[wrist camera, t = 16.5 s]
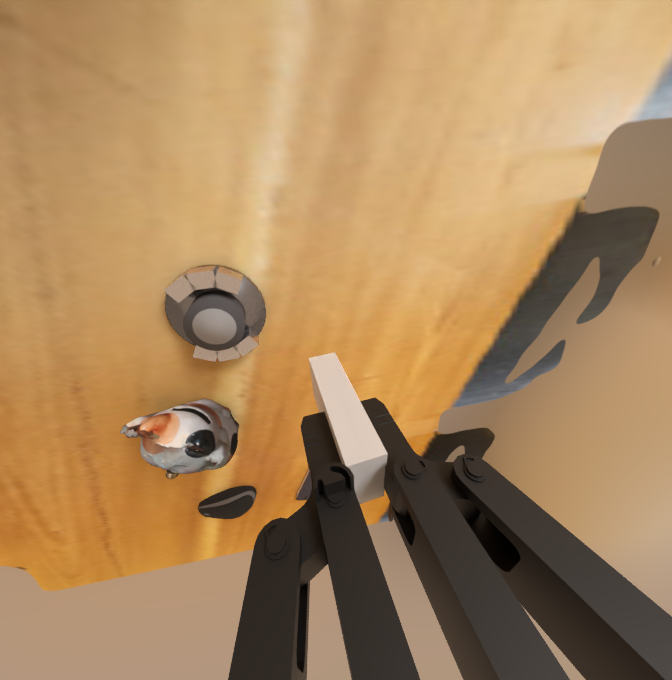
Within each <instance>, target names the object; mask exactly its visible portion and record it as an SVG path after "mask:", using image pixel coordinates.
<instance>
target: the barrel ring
mask: <svg viewBox="0 0 672 680" xmlns="http://www.w3.org/2000/svg"><path fill="white" fill-rule="evenodd" d="M211 290H220V291H224V292H227V293H230V294H232V295H233V296H235V297H236V298H237V299H238V300H239V301H240V302H241V303H242V305H243V307H244V309H245V313H246V320H245V331H244V335H243V337H242V339H241V340H240V342H239V343H238V344H236V345H235V346H233V347H232V348H229V349H226V350H221V351H212V350H207V349H203V348H201V347H199V346H197V345H196V344H194V343H193V342H192V341H191V340H190V339H189V338H188V337H187V335H186V333H185V331H184V328H183V319H184V316H185V314H186V312H187V311H188V309H189V307H190V306H191V304H192V302H193V301H194V299H195V298H196V297H197V296H198V295H200V294H202V293H204V292H207V291H211ZM163 291H164V292H166V293H167V295H166V300H165V310H166V315H167V317H168V320H169V322H170V324H171V326H172V327H173V329H174V330H175V331H176V332H177V333H178V334H179V335H180V336H181V337H182V338H183V339H184V340H186V341H187V342H189V343H191V344H193V345H195V346H196V347H195V351H194V354H193V357H194V358H199V359H204V360H209V361H213V362H216V359H217V358H218V360H219V362H221V361H227V360H232V359H237V358H240V356H241V355H242V356H245V355H246V354H247V353H249V352H250V351H251V350H253V349H254V348H255V347H257V346H258V345H259V336H258V335H259V333H260V332H261V330H262V328H263V326H264V323H265V318H266V309H265V302H264V299H263V296H262V294H261V292H260V291H259V289H258V287H257V286H256V285H255V284H254V283H253V282H252V281H251V280H250V279H249V278H248V277H246V276H245V275H244V274H242V273H240V272H239V271H236V270H234V269H232V268H228V267H225V266H220V265H203V266H198V267H195V268H191V269H190V270H187V271H185V272H184V273H183V274H181V275H180V276H179V277H178V278H177V279H175V280H174V281H173V282H172V283H171V284H169V285H168V286H167V287H166V288H165V289H164V290H163Z"/></svg>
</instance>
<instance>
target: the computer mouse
mask: <svg viewBox="0 0 672 680" xmlns="http://www.w3.org/2000/svg"><path fill="white" fill-rule="evenodd" d="M255 498H256V489H255V488H254V487H252V486H239V487H234V488H230V489H227V490H225V491H222V492H220V493H217V494H215V495H213V496H211V497H209V498H207V499H205V500H203V501H202V502H200V504H199V508H198V509H199V512H200V513H201V514H202V515H203V516H205V517H212V518H220V519H233V518H237V517H240V516H242V515H243V514H245V513H246V512H247V511H248V510H249V509H250V508H251V507H252V505H253V503H254V500H255Z"/></svg>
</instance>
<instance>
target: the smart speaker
mask: <svg viewBox="0 0 672 680" xmlns="http://www.w3.org/2000/svg"><path fill="white" fill-rule="evenodd" d="M245 320H246V313H245V309H244V307H243V305H242V303H241V302H240V301H239V300H238V299H237V298H236V297H235V296H233V295H232V294H230V293H227V292H224V291H220V290H211V291H207V292H204V293H202V294H200V295H198V296H197V297H196V298H195V299H194V301H193V302H192V304H191V306H190V307H189V309H188V311H187V312H186V314H185V316H184V319H183V328H184V331H185V333H186V335H187V337H188V338H189V339H190V340H191V341H192V342H193V343H194V344H196V345H197V346H199V347H201V348H203V349H207V350H212V351H221V350H226V349H229V348H232V347H233V346H235V345H236V344H238V343H239V342H240V340H241V339H242V337H243V335H244V331H245Z"/></svg>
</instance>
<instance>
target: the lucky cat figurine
mask: <svg viewBox="0 0 672 680" xmlns="http://www.w3.org/2000/svg"><path fill="white" fill-rule="evenodd" d="M238 428H239V424H238V423H237V422H236V421H235V420H234V418H233V417H232V415H231V412H230V410H229V408H226V407H224V406H221V405H219V404H217V403H215V402H214V401H211V400H207V399H201V400H198V401H194V402H193V401H190V402H188V403H186V404H181V405H178V406H175V407H172V408H169V409H166V410H163V411H160V412H157V413H154V414H150V415H147V416H142V417H138V418H136V419H134V420H133V421H131V422H129V423H127V424H126V425H124V426H123V427H122V430H121V432H120V433H121V434H122V433H124V434H125V435H126V436H127V437H128V438H130V437H138V436H140V437H142V438H141V446H140V451H141V456H142V458H143V459H144V460H145V461H146V462H148V463H149V464H151V465H153V466H156V467H160V468H162V469H163V470H166V473H165V474H166V477H167V478H168V479H173V478H175V477H177V476H178V474H179V473H180V474H181V473H182V474H186V473H195V472H201V471H203V470H206V469H218V468H221V467H223V466H224V465H226V464H227V463H228V462H229V461H230V460H231V458H232V457H233V455H234V453H235V451H236V448H237V442H238V440H237V437H238Z"/></svg>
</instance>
